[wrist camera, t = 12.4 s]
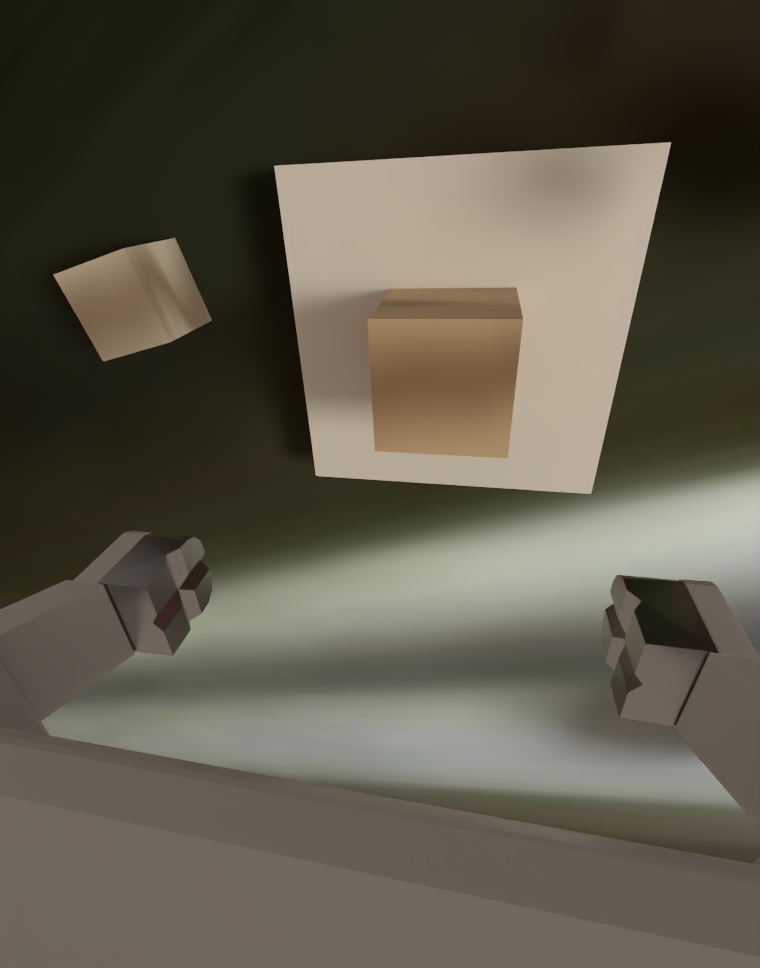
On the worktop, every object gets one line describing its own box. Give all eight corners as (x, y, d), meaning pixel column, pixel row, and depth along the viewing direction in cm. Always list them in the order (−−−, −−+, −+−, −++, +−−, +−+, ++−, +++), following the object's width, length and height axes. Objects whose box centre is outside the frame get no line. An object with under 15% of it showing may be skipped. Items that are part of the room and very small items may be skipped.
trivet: (583, 467, 26) (591, 494, 23) (328, 453, 28) (316, 476, 26) (650, 145, 18) (671, 141, 16) (295, 166, 21) (274, 165, 19)
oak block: (504, 404, 22) (507, 458, 18) (395, 400, 23) (374, 451, 19) (516, 287, 19) (523, 319, 15) (392, 288, 20) (367, 318, 16)
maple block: (212, 320, 25) (170, 342, 22) (151, 337, 26) (103, 361, 23) (175, 237, 23) (123, 248, 20) (112, 261, 25) (53, 274, 21)
